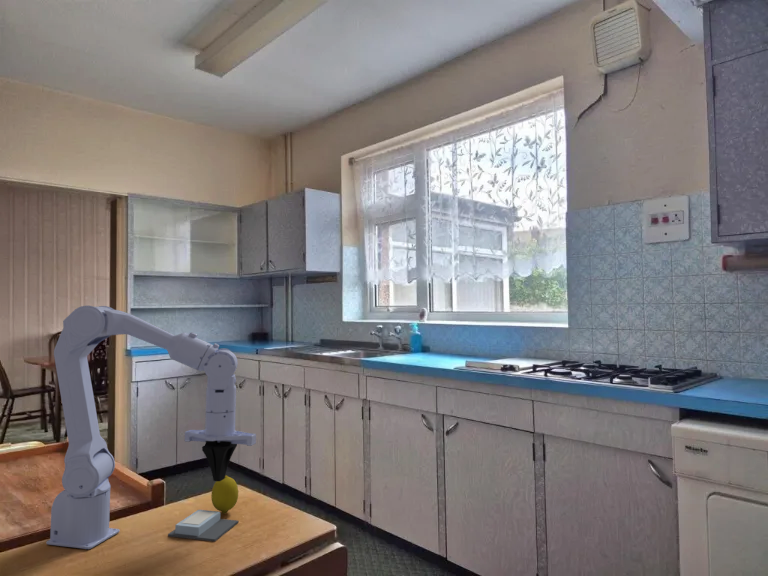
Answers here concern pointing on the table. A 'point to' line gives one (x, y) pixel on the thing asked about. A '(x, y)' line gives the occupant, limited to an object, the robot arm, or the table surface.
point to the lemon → (224, 494)
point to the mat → (210, 531)
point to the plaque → (197, 522)
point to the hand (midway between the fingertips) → (219, 479)
